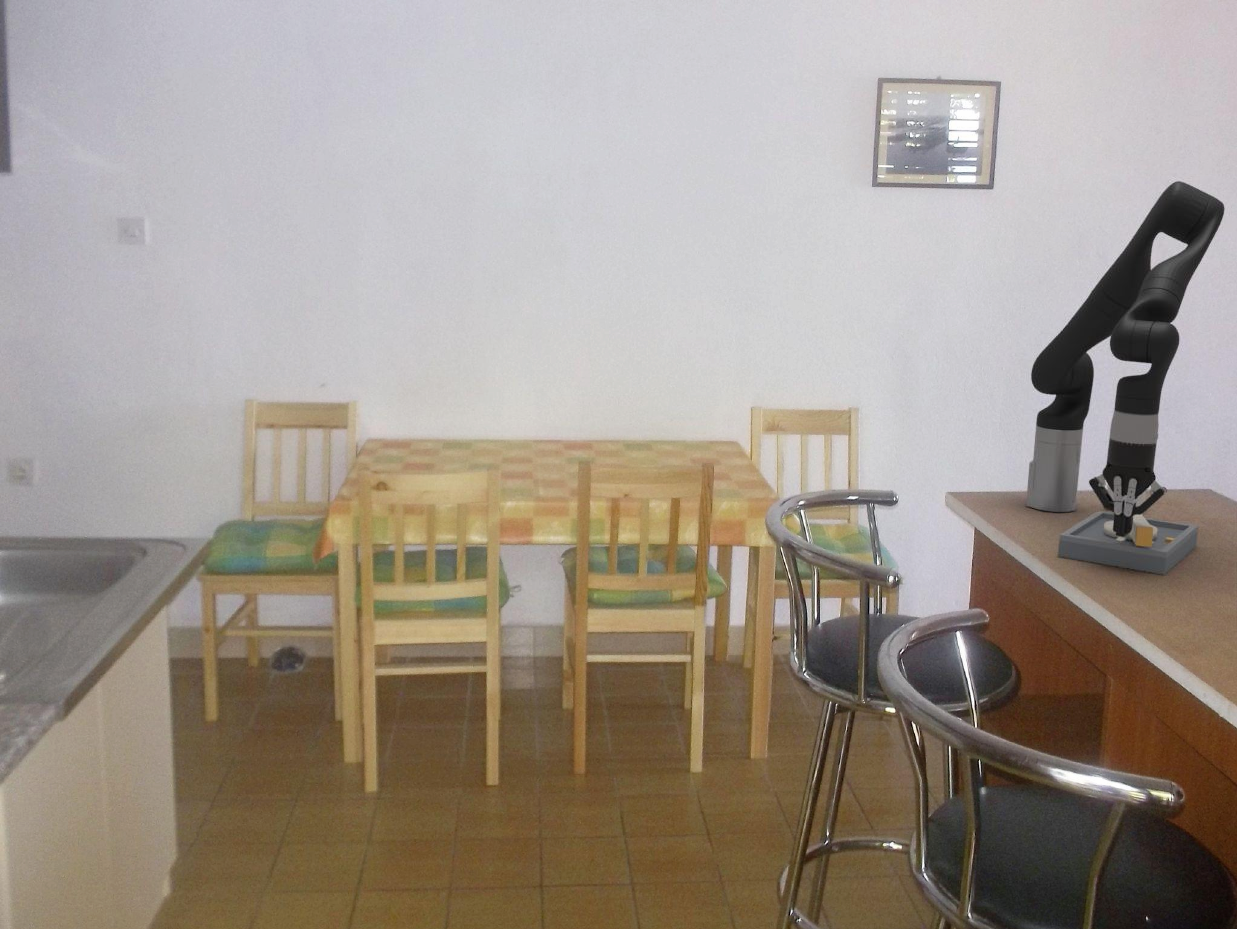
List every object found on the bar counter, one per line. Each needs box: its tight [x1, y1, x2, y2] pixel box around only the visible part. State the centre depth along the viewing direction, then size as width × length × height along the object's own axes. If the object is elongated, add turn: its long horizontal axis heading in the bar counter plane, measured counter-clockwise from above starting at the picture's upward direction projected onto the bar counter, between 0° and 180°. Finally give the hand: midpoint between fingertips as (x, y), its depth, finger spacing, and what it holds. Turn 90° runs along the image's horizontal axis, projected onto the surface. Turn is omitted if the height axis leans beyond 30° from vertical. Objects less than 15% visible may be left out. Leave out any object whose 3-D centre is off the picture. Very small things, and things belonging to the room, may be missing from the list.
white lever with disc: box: [1104, 512, 1158, 547], centre depth 219 cm, size 18×9×5 cm, turn 166°
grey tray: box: [1057, 510, 1199, 576], centre depth 224 cm, size 18×24×4 cm
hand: (1121, 535), depth 214 cm, fingers closed
